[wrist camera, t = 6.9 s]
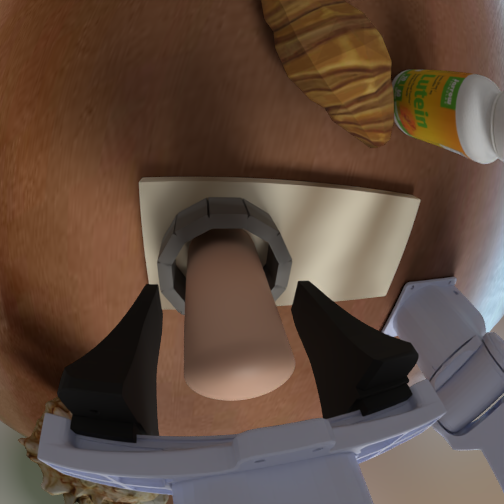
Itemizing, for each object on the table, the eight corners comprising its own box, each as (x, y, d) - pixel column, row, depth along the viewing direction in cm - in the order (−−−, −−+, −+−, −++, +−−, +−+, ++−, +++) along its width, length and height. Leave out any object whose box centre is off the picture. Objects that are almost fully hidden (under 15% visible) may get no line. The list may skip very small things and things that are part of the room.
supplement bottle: (386, 61, 13) (505, 66, 5) (436, 78, 14) (540, 100, 5) (384, 133, 16) (498, 178, 8) (433, 141, 16) (531, 185, 8)
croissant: (211, -1, 10) (216, -37, 6) (302, -36, 9) (334, -67, 5) (330, 167, 17) (370, 191, 13) (400, 122, 16) (448, 135, 12)
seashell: (11, 503, 5) (27, 489, 12) (198, 535, 14) (150, 517, 21) (34, 339, 19) (39, 380, 26) (187, 391, 27) (147, 415, 34)
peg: (257, 223, 17) (304, 333, 9) (253, 281, 19) (286, 394, 11) (185, 225, 16) (176, 343, 8) (190, 284, 18) (191, 403, 11)
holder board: (413, 195, 19) (441, 213, 16) (380, 289, 24) (398, 313, 21) (142, 177, 15) (128, 196, 12) (154, 300, 20) (149, 334, 17)
